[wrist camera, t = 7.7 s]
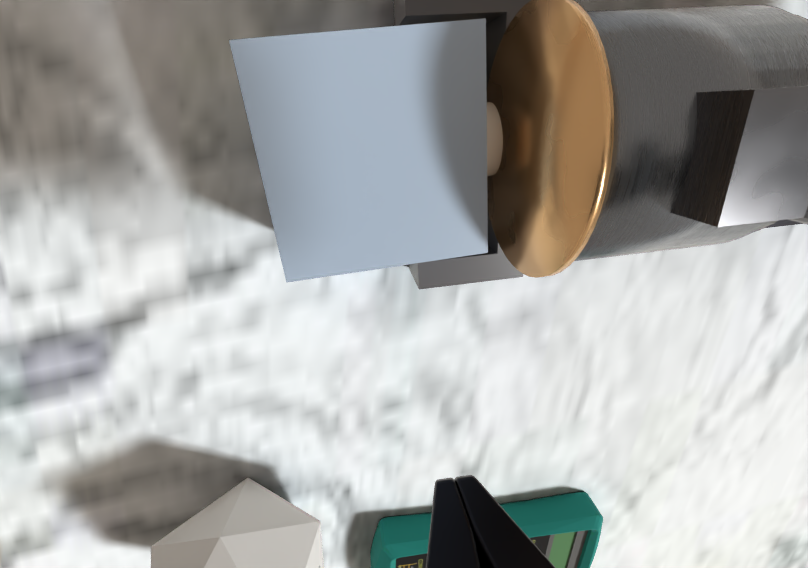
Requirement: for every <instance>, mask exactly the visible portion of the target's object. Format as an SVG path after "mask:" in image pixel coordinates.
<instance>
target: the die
mask: <svg viewBox="0 0 808 568" xmlns="http://www.w3.org/2000/svg"><path fill="white" fill-rule="evenodd" d="M151 568H324V563H323V550H322V536H321V522H320V521H319V520H318V519H316V518H314V517H313V516H311V515H309V514H308V513H306V512H304V511H303V510H301V509H299V508H298V507H296V506H294V505H293V504H291V503H290V502H288V501H286V500H285V499H283V498H281V497H280V496H278V495H276V494H275V493H273V492H271V491H270V490H268V489H266V488H265V487H263V486H261V485H260V484H258V483H256V482H255V481H253V480H252V479H250V478H246V479H245V480H243V481H242V482H241V483H239V484H238V485H236V486H235V487H234V488H232V489H231V490H229V491H228V492H227V493H225V494H224V495H222V496H221V497H220V498H218V499H217V500H215V501H214V502H213V503H211V504H210V505H208V506H207V507H206V508H204V509H203V510H201V511H200V512H199V513H197V514H196V515H194V516H193V517H192V518H190V519H189V520H187V521H186V522H184V523H183V524H182V525H180V526H179V527H177V528H176V529H175V530H173V531H172V532H170V533H169V534H168V535H166V536H165V537H163V538H162V539H161V540H159V541H158V542H156V543H155V544H154V545H152V546H151Z"/></svg>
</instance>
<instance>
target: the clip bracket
mask: <svg viewBox="0 0 808 568" xmlns="http://www.w3.org/2000/svg"><path fill="white" fill-rule="evenodd" d="M530 1H531V0H393V2H394V19H395V26H401V25H413V24H424V23H436V22H448V21H460V20H472V19H484V18H486V90H487V85H488V81H489V76H490V72H491V69H492V65H493V61H494V58H495V55H496V52H497V50H498V47H499V44H500V42H501V40H502V37H503V35H504V33H505V31H506V29H507V28H508V26H509V24H510V22H511V21H512V19H513V18H514V17H515V15H516V14H517V13H518V11H519V10H520V9H521V8H522V7H523V6H524V5H525V4H527V3H528V2H530ZM498 92H499V91H498ZM488 177H489V176H488ZM488 179H489V178H488ZM491 179H492V178H491ZM491 179H490V180H488V181H491ZM495 179H496V178H495ZM488 184H489V188H490V187H491V186H492V185H490V183H488ZM491 184H493V183H492V182H491ZM494 187H495V186H494ZM487 188H488V187H487ZM490 190H491V189H490ZM490 190H489V193H490ZM492 193H493V192H492ZM490 194H491V193H490ZM493 199H494V198H493ZM487 202H488V201H487ZM491 204H492V203H491ZM487 205H488V204H487ZM492 205H493V204H492ZM490 213H491V212H490ZM409 269H410V271H411V273H412V275H413V277H414V280H415V282H416V284H417V286H418V288H419V289H426V288H434V287H442V286H450V285H458V284H467V283H475V282H483V281H491V280H500V279H508V278H516V277H523V273H521V272H520V271H518V270H517V269H516V268H515V267H514V266H513V265H512V264H511V263H510V262H509V260H508V259H507V257H506V256H505V254H504V253H503V251H502V249H501V247H500V245H499V243H498V241H497V239H496V236H495V233H494V231H493V228H492V224H491V221H490V218H489V213H488V253H483V254H476V255H469V256H462V257H456V258H449V259H442V260H435V261H428V262H422V263H415V264H409Z"/></svg>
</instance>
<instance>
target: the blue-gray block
mask: <svg viewBox="0 0 808 568" xmlns="http://www.w3.org/2000/svg"><path fill="white" fill-rule="evenodd" d="M229 42H230V46H231V51H232V55H233V59H234V63H235V67H236V72H237V76H238V80H239V84H240V89H241V93H242V97H243V101H244V105H245V110H246V114H247V118H248V122H249V126H250V131H251V135H252V139H253V143H254V147H255V152H256V156H257V160H258V164H259V168H260V173H261V177H262V181H263V185H264V189H265V194H266V198H267V202H268V206H269V210H270V215H271V219H272V223H273V227H274V231H275V236H276V240H277V244H278V248H279V252H280V257H281V261H282V265H283V269H284V273H285V278H286V282H293V281H299V280H306V279H313V278H320V277H327V276H333V275H340V274H347V273H354V272H361V271H367V270H374V269H381V268H388V267H395V266H401V265H408V264H415V263H422V262H428V261H435V260H442V259H449V258H456V257H462V256H469V255H476V254H483V253H488V207H487V176H492V175H495V174H496V172H497V171H498V169H499V166H500V163H501V158H502V151H503V133H502V125H501V120H500V116H499V113H498V110H497V108H496V106H495V105H494V104H493V103H491V102H487V91H486V18H484V19H472V20H460V21H448V22H436V23H424V24H413V25H401V26H389V27H377V28H365V29H353V30H341V31H329V32H318V33H306V34H294V35H282V36H270V37H258V38H246V39H234V40H229Z"/></svg>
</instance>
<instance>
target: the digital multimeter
mask: <svg viewBox="0 0 808 568" xmlns="http://www.w3.org/2000/svg"><path fill="white" fill-rule="evenodd" d="M499 505H500V506H501V507H502V508H503V509H504V510H505V511H506V512H507V514H508V515H509V516H510V517H511V518H512V519H513V520H514V521H515V523H516V524H517V525H518V526H519V527H520V528H521V529H522V530H523V532H524V533H525V534H526V535H527V536H528V537H529V538H530V539H531V541H532V542H533V543H534V544H535V545H536V546H537V547H538V548H539V550H540V551H541V552H542V553H543V554H544V555H545V556H546V557H547V559H548V560H549V561H550V562H551V563H552V564H553V565H554V566H555V568H590V566H591V563H592V561H593V559H594V556H595V553H596V549H597V546H598V542H599V538H600V533H601V527H602V522H603V517H602V515H601V514H600V512H599V511H598V509H597V508H596V506H595V504H594V503H593V501H592V500H591V498H590V497H589V495H588V494H587V493H586V492H576V493H569V494H561V495H555V496H549V497H544V498H538V499H532V500H526V501H519V502H512V503H504V504H499ZM431 515H432V513H424V514H412V515H401V516H392V517H385V518H383V519H381V520H380V521H379V523H378V526H377V529H376V532H375V535H374V538H373V542H372V547H371V552H370V555H371V568H426V560H427V551H428V542H429V533H430V524H431Z"/></svg>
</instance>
